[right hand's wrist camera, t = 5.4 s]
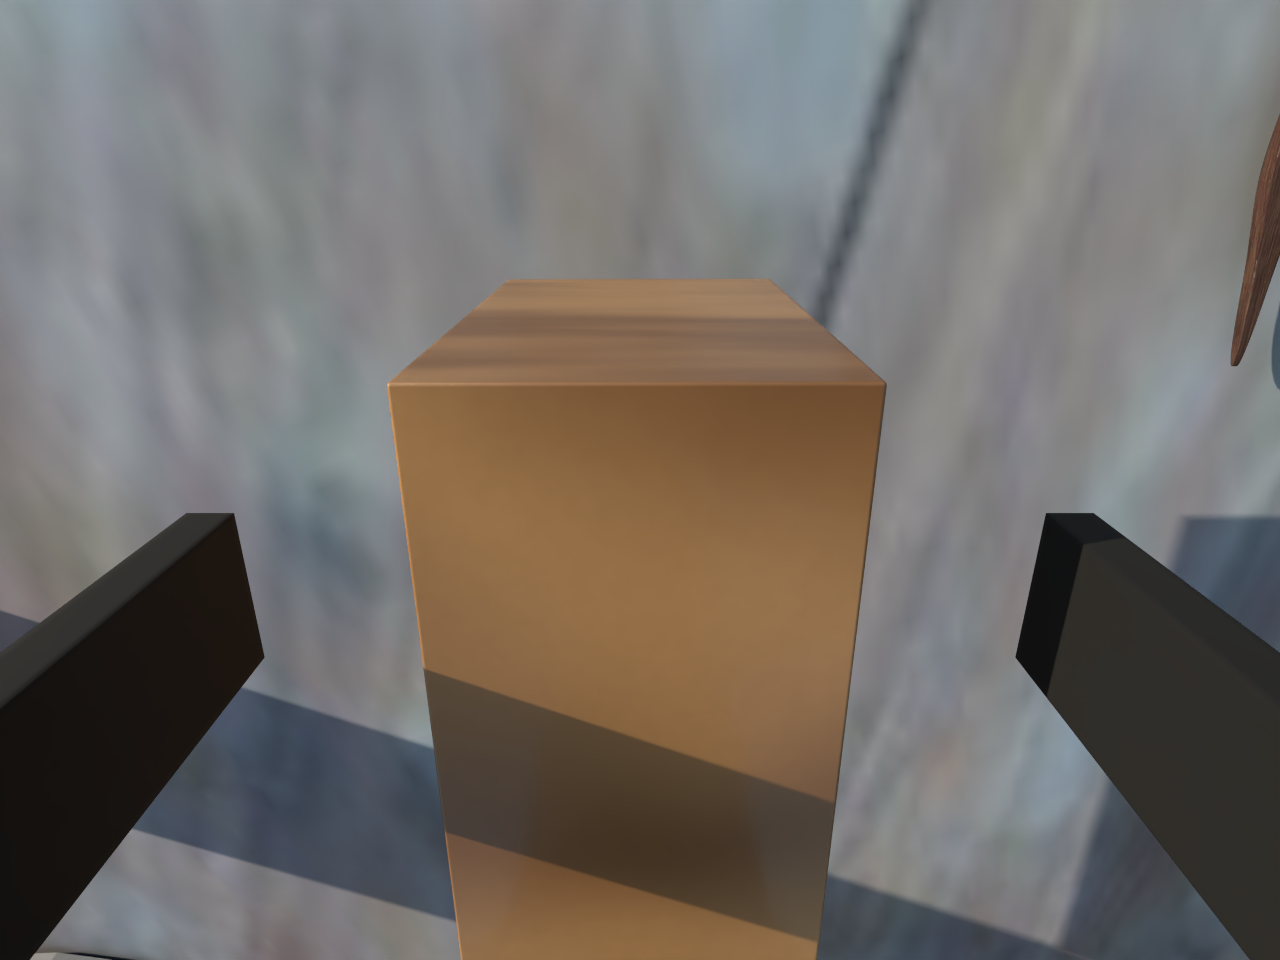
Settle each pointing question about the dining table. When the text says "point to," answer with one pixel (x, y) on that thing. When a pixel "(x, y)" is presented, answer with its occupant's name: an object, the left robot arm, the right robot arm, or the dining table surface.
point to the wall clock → (62, 957)
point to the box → (637, 611)
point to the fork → (1260, 248)
